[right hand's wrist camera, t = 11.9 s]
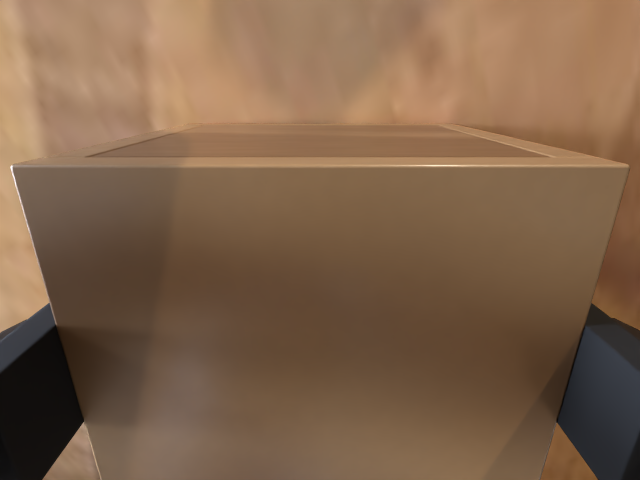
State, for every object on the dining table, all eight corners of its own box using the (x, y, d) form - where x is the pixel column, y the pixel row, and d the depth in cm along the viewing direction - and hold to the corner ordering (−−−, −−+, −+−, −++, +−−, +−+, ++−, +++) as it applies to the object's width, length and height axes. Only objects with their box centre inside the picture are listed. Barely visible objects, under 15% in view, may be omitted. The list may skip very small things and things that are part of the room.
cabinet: (411, 476, 24) (470, 724, 14) (229, 476, 24) (170, 723, 14) (453, 123, 16) (633, 164, 7) (187, 123, 16) (7, 164, 7)
